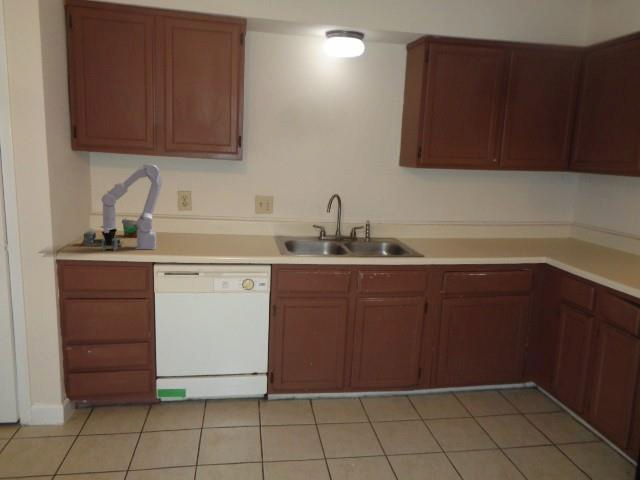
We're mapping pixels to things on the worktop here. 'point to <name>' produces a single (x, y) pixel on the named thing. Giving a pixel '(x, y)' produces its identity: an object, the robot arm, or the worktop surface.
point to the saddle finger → (114, 245)
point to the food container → (130, 228)
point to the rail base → (95, 240)
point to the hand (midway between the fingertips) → (109, 244)
